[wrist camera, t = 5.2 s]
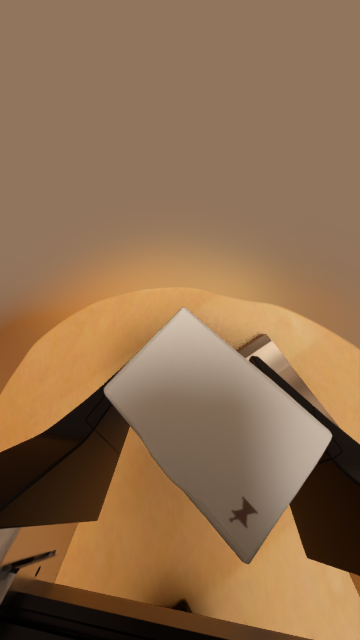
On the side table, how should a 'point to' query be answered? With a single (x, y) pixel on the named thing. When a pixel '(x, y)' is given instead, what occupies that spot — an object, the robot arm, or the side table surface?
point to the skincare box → (218, 429)
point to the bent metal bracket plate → (280, 367)
